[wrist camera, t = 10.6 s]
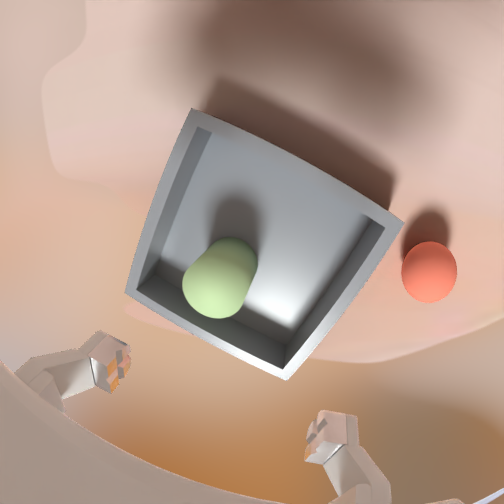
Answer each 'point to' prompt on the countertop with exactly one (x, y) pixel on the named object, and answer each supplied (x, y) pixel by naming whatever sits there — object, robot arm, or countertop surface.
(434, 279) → the tomato ball
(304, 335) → the bin
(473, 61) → the countertop surface
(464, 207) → the countertop surface
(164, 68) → the countertop surface
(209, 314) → the cucumber chunk
